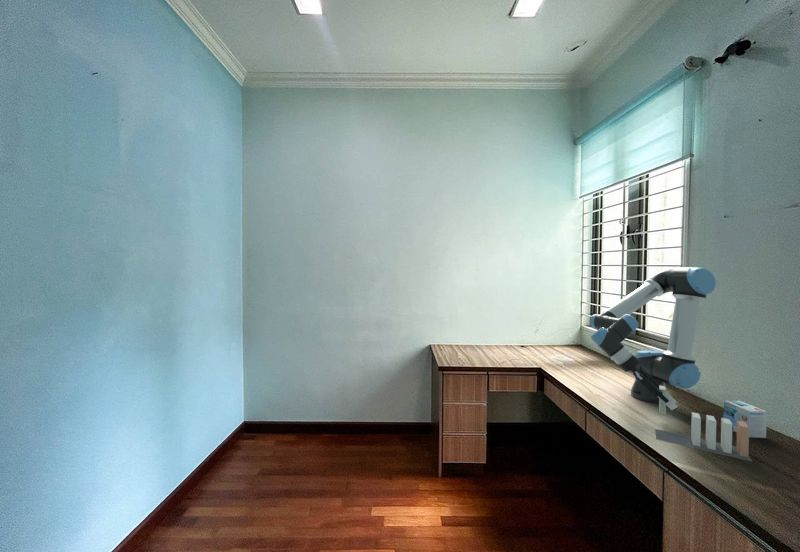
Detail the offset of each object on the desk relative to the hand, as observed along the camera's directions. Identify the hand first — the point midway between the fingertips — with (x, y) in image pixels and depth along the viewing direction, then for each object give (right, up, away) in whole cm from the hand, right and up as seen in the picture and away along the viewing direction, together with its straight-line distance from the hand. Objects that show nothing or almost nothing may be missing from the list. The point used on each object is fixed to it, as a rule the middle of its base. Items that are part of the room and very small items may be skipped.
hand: (674, 405), depth 137 cm
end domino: (+6, -8, -22) cm, 24 cm away
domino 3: (-1, -8, -17) cm, 19 cm away
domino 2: (-4, -8, -15) cm, 17 cm away
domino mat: (-3, -8, -15) cm, 18 cm away
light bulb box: (+23, -9, -6) cm, 25 cm away
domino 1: (-3, -3, +2) cm, 5 cm away
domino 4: (+2, -8, -19) cm, 21 cm away
